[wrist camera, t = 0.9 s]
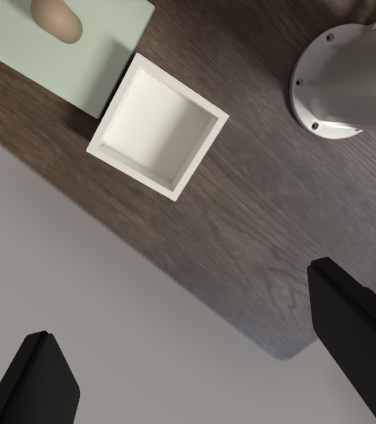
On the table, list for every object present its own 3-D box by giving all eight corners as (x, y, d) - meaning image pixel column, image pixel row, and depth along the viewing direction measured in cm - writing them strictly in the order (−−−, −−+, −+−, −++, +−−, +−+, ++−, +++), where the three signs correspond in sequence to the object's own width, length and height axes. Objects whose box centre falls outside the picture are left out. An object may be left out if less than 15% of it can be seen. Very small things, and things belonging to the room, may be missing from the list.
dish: (140, 59, 33) (137, 52, 29) (220, 114, 36) (229, 115, 31) (95, 144, 36) (85, 150, 31) (173, 189, 39) (175, 201, 34)
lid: (35, -79, 28) (1, -130, 22) (154, 9, 32) (153, -14, 25) (-15, 50, 31) (-57, 36, 25) (98, 118, 35) (85, 121, 29)
